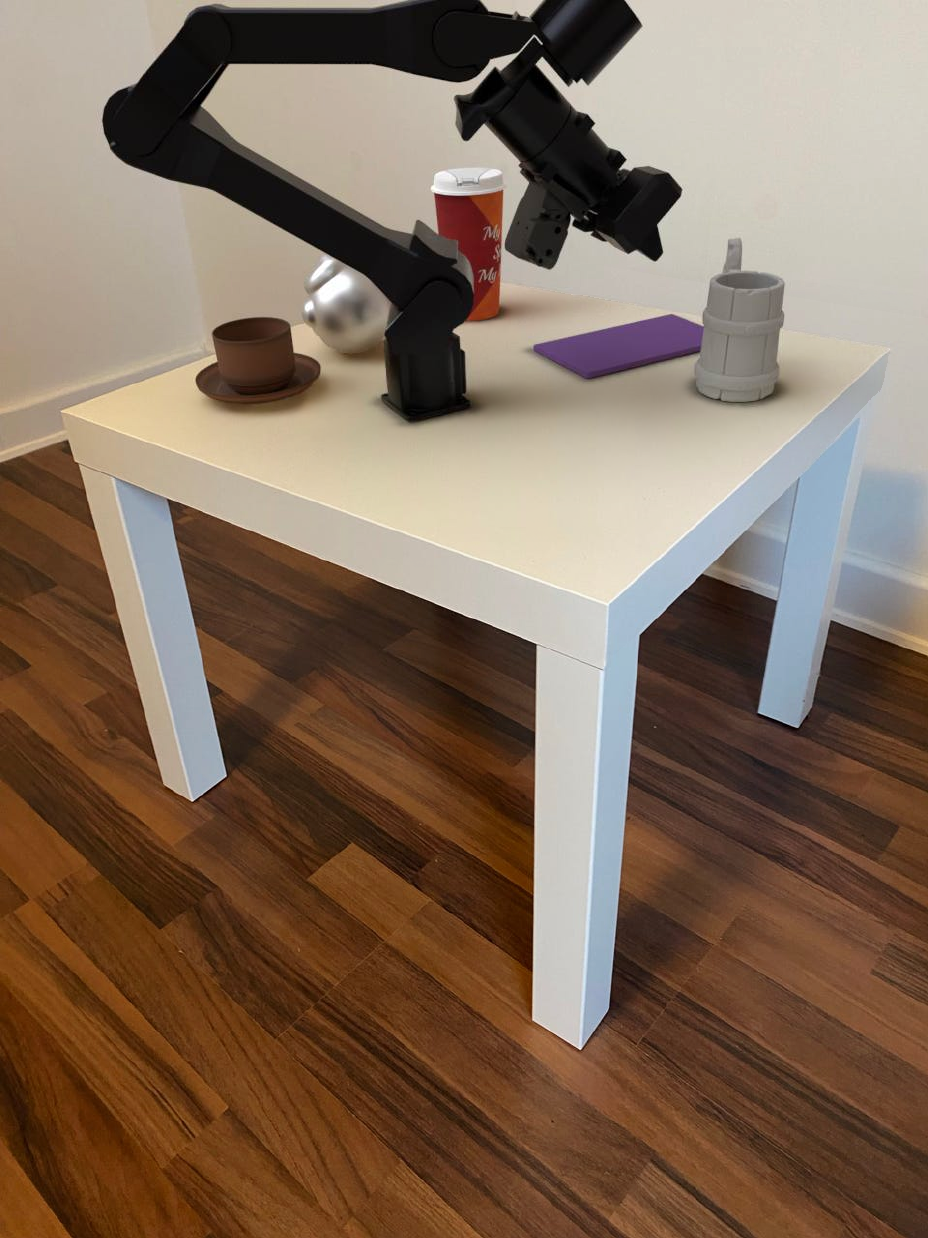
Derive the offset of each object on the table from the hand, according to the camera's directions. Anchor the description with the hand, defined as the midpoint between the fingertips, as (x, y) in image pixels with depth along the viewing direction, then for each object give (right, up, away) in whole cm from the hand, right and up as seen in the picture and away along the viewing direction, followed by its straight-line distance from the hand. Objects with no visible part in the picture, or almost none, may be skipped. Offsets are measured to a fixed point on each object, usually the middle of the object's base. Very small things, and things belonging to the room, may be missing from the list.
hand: (657, 256), depth 87 cm
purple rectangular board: (0, -4, +14) cm, 15 cm away
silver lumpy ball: (-29, -4, +17) cm, 34 cm away
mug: (+8, -10, +6) cm, 14 cm away
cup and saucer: (-37, -10, +8) cm, 39 cm away
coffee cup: (-16, +3, +26) cm, 31 cm away
